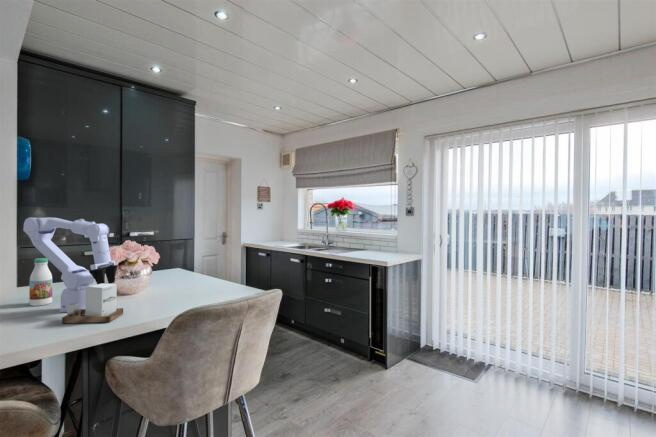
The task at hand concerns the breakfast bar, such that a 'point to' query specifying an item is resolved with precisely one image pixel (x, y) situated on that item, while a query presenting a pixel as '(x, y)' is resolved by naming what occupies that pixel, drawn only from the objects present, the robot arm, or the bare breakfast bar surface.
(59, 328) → the breakfast bar surface
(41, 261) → the milk bottle
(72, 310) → the wooden serving tray
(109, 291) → the supplement box
